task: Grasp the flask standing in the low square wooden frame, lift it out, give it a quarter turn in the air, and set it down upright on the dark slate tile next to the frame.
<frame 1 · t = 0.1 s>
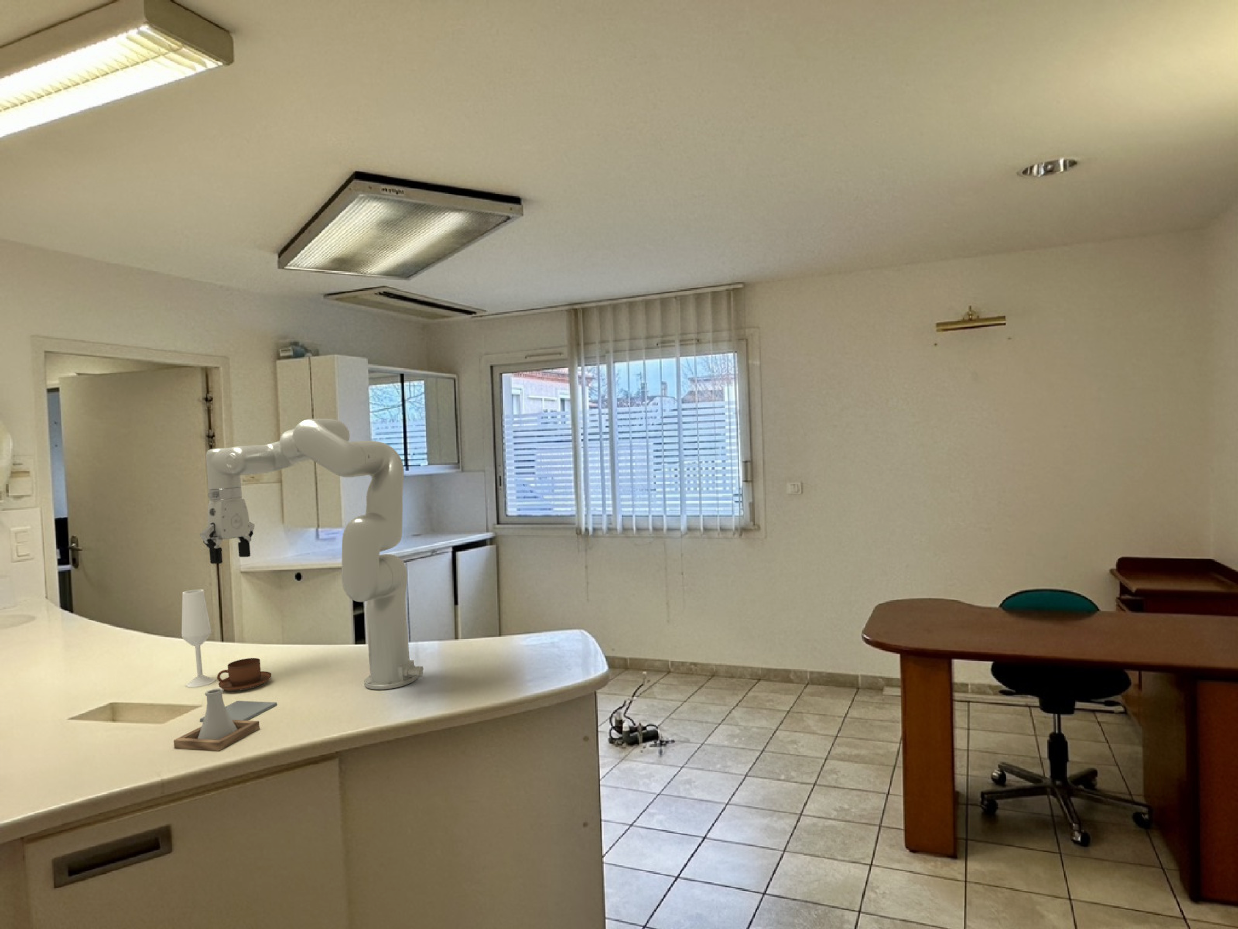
hand: (231, 560, 192), 31 cm above the countertop, tool pointing down, fingers open, 9 cm apart
flask: (218, 739, 152), on the countertop
cup and saucer: (245, 687, 186), on the countertop
slate tile: (239, 713, 166), on the countertop
square wooden frame: (218, 738, 152), on the countertop
champagne flute: (200, 683, 191), on the countertop
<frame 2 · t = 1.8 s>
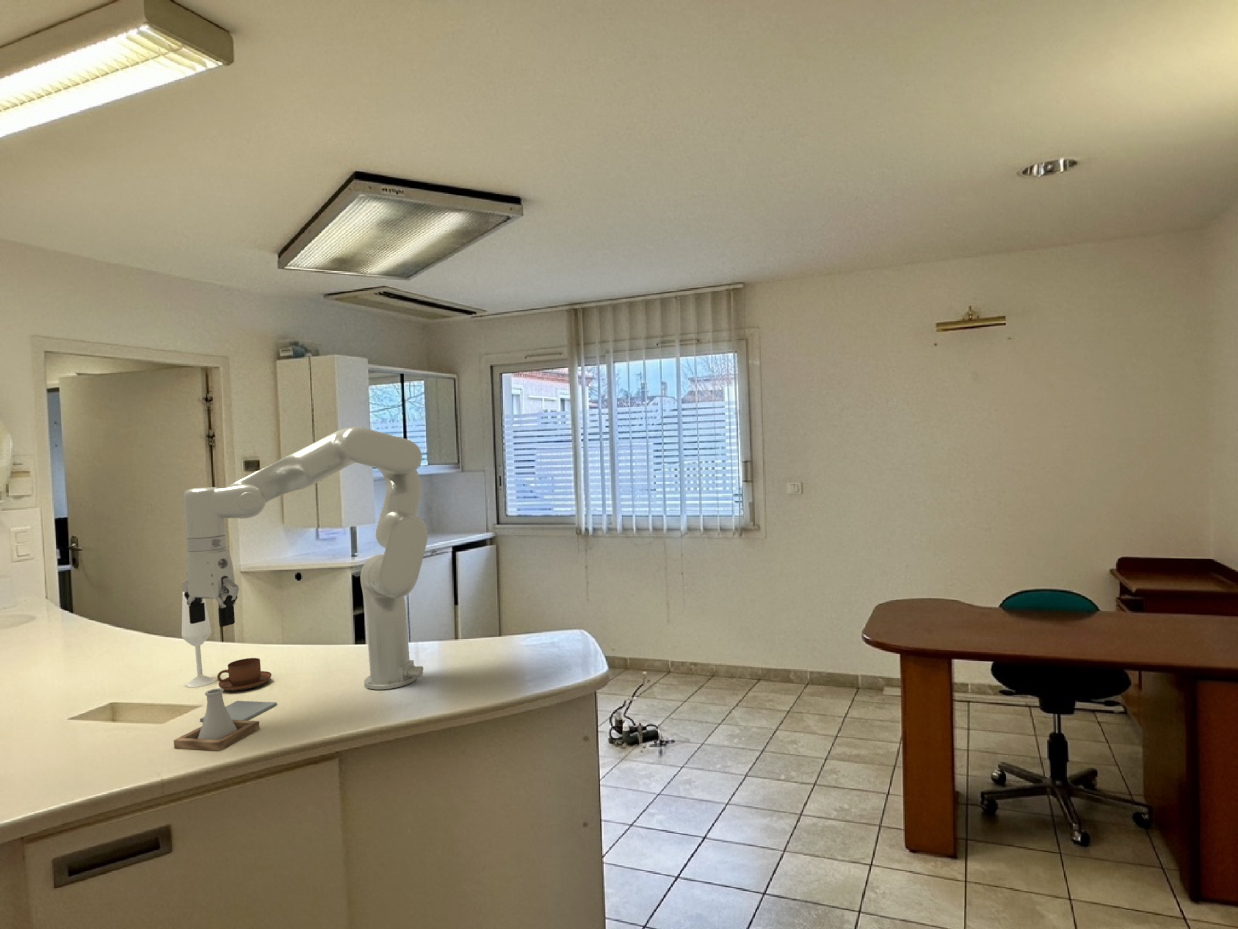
hand: (212, 623, 158), 22 cm above the countertop, tool pointing down, fingers open, 9 cm apart
nothing on the countertop moved.
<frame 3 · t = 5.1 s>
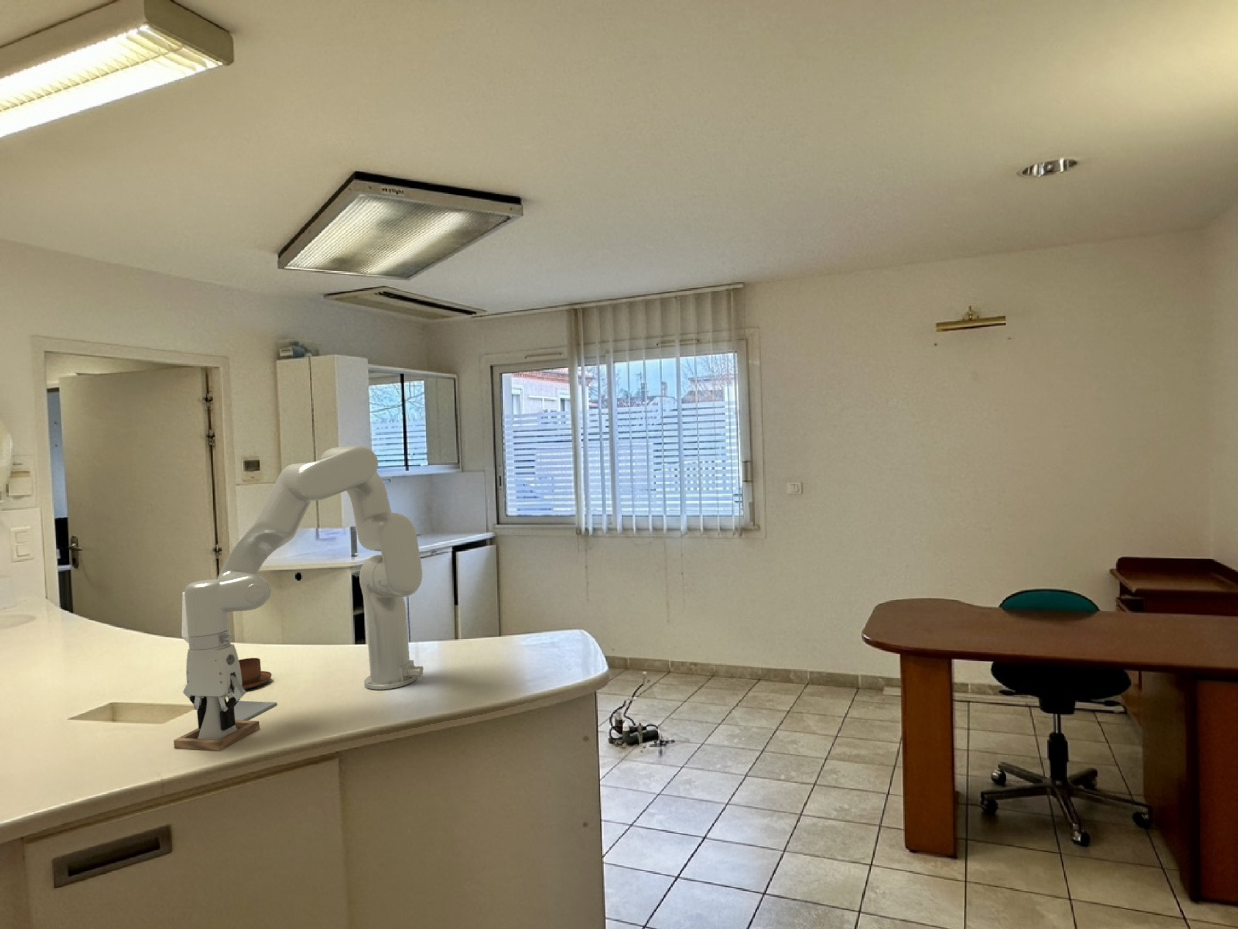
hand: (217, 726, 152), 2 cm above the countertop, tool pointing down, fingers closed on flask, 4 cm apart
flask: (218, 739, 152), on the countertop, touching gripper
everything else where it was.
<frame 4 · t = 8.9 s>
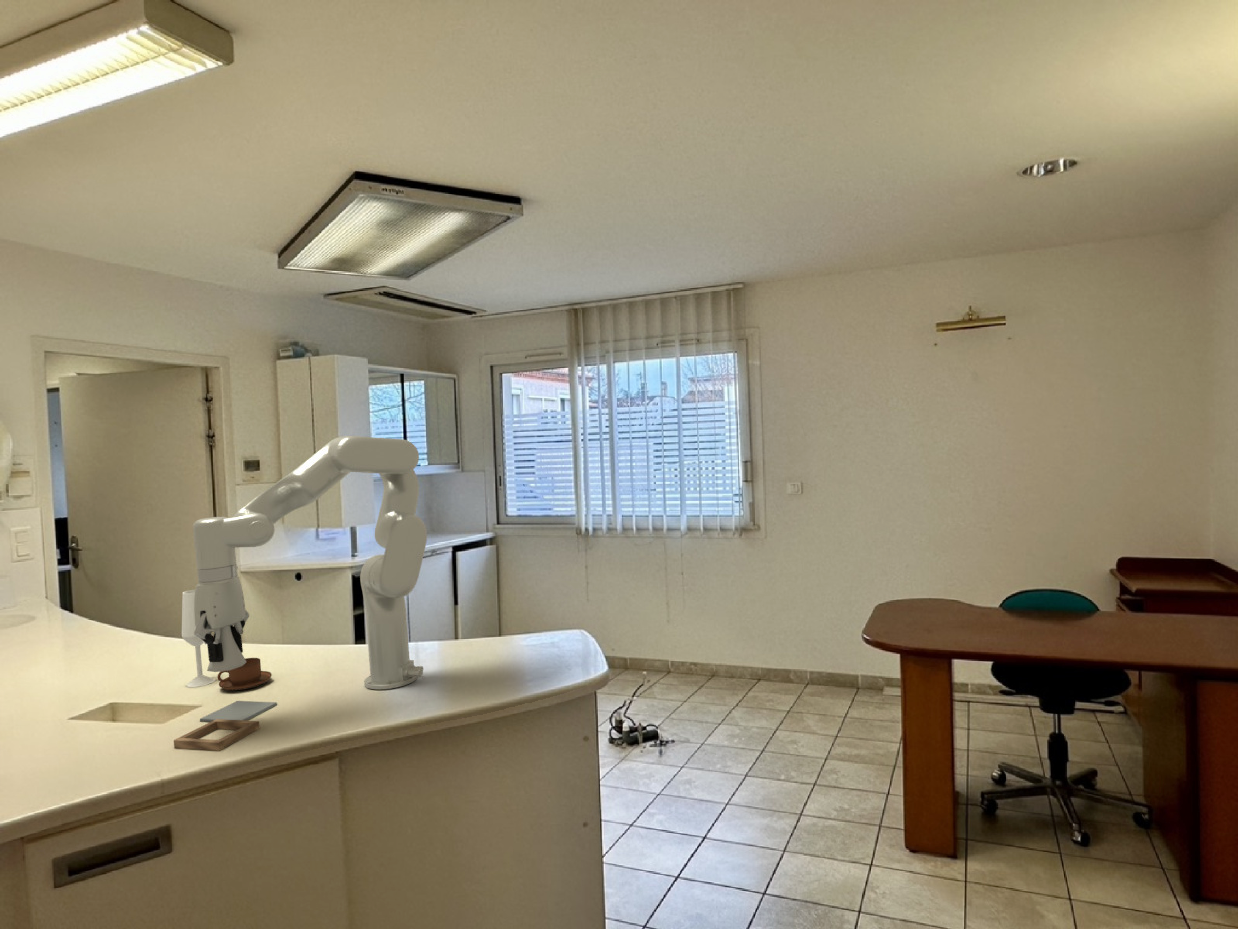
hand: (226, 656, 159), 15 cm above the countertop, tool pointing down, fingers closed on flask, 4 cm apart
flask: (227, 668, 159), point 12 cm above the countertop, touching gripper
everything else where it was.
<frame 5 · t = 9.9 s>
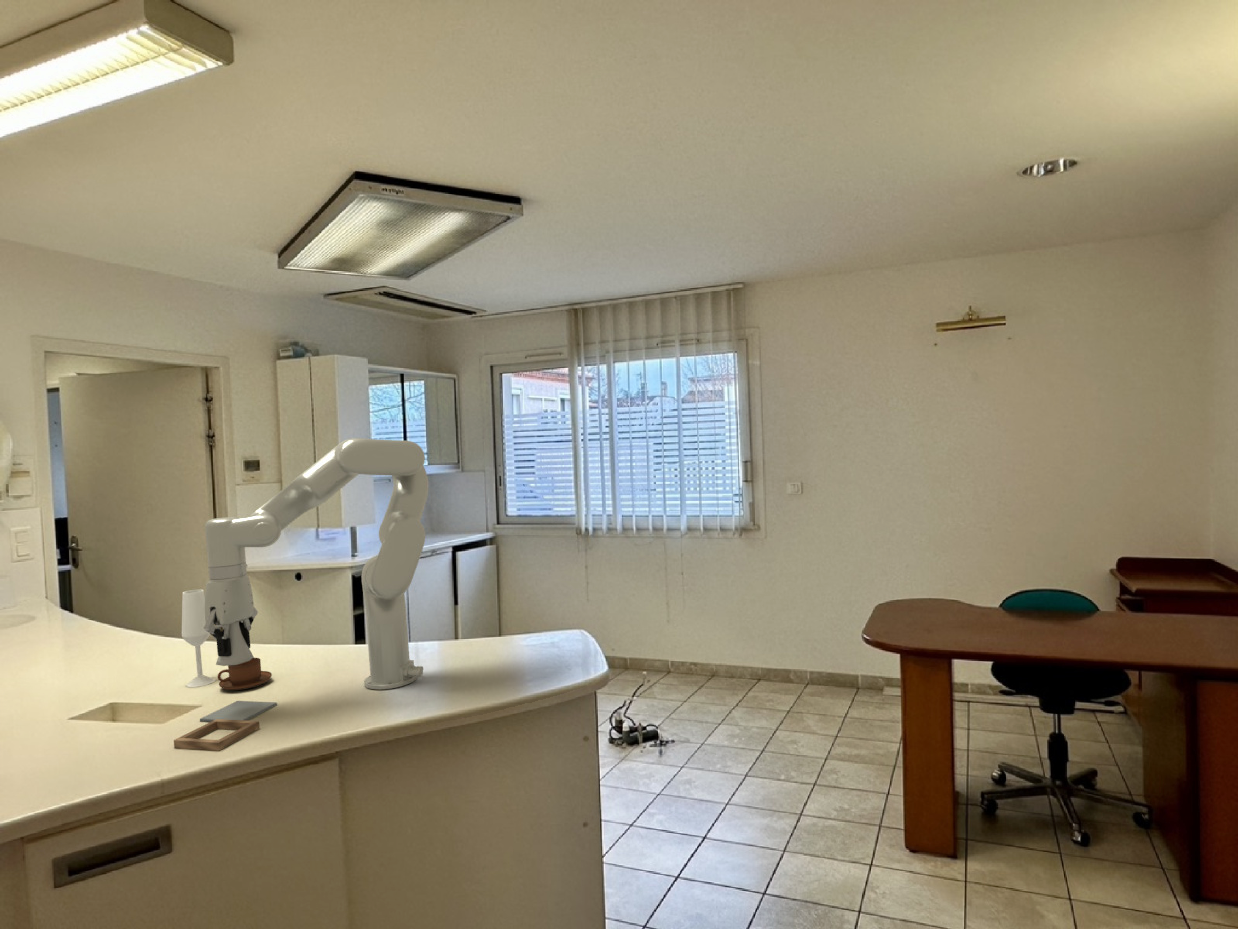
hand: (234, 651, 166), 14 cm above the countertop, tool pointing down, fingers closed on flask, 4 cm apart
flask: (235, 663, 166), point 11 cm above the countertop, touching gripper
everything else where it was.
when the fingers open (4 cm above the countertop, at t = 12.8 s): flask drops 1 cm, resting on slate tile.
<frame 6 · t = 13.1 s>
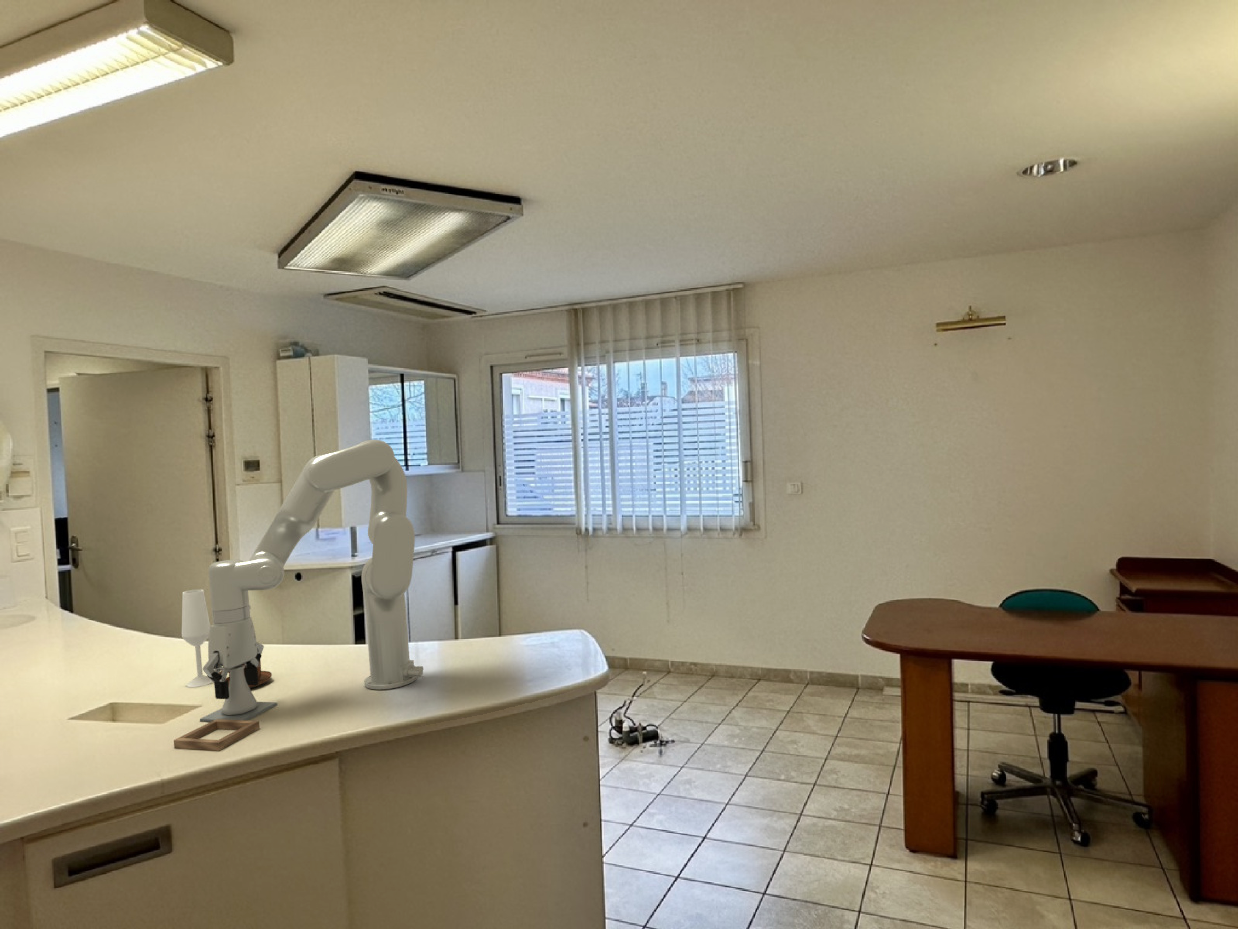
hand: (237, 691, 166), 5 cm above the countertop, tool pointing down, fingers open, 8 cm apart
flask: (240, 711, 166), resting on slate tile
everything else where it was.
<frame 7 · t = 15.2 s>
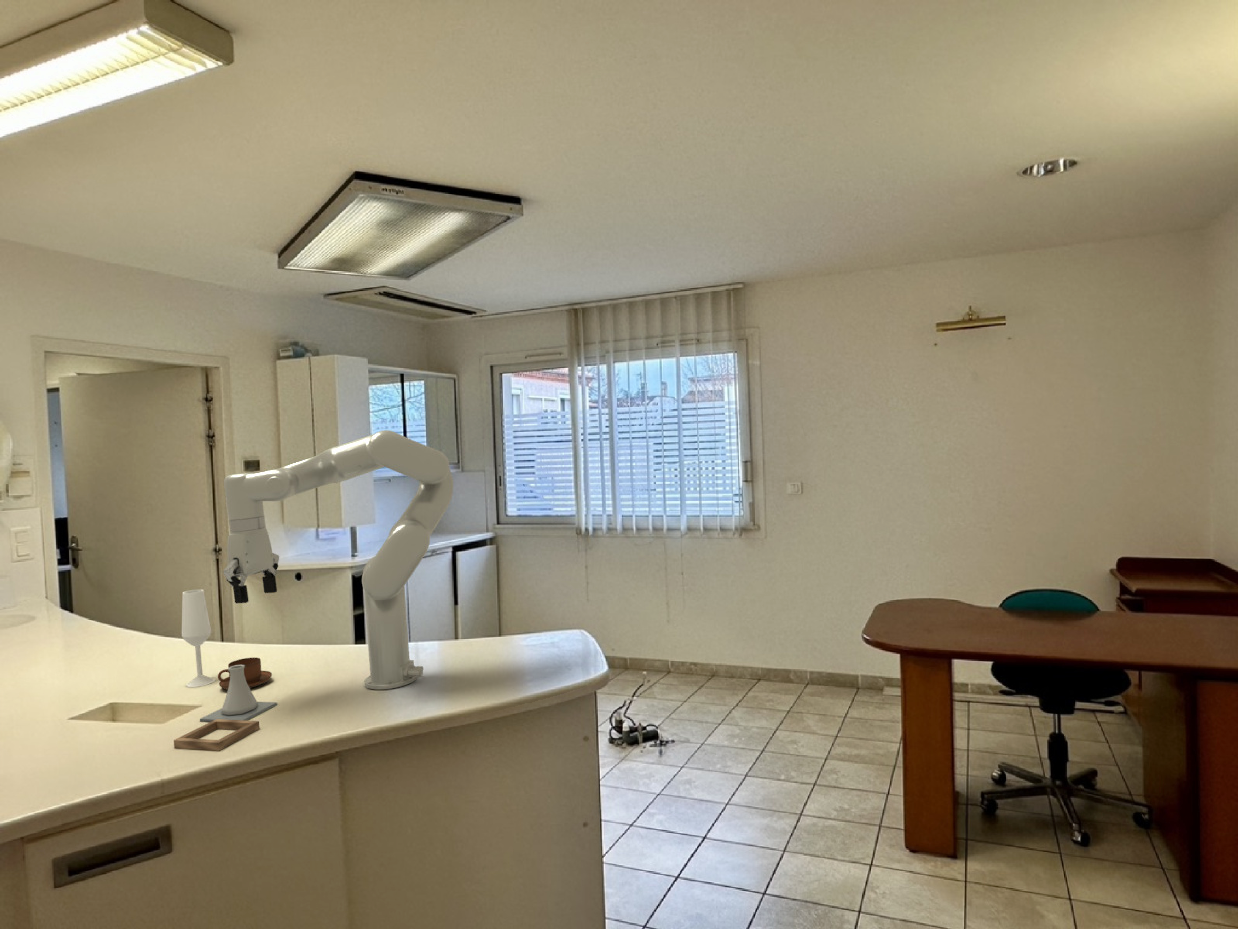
hand: (256, 597, 172), 25 cm above the countertop, tool pointing down, fingers open, 9 cm apart
nothing on the countertop moved.
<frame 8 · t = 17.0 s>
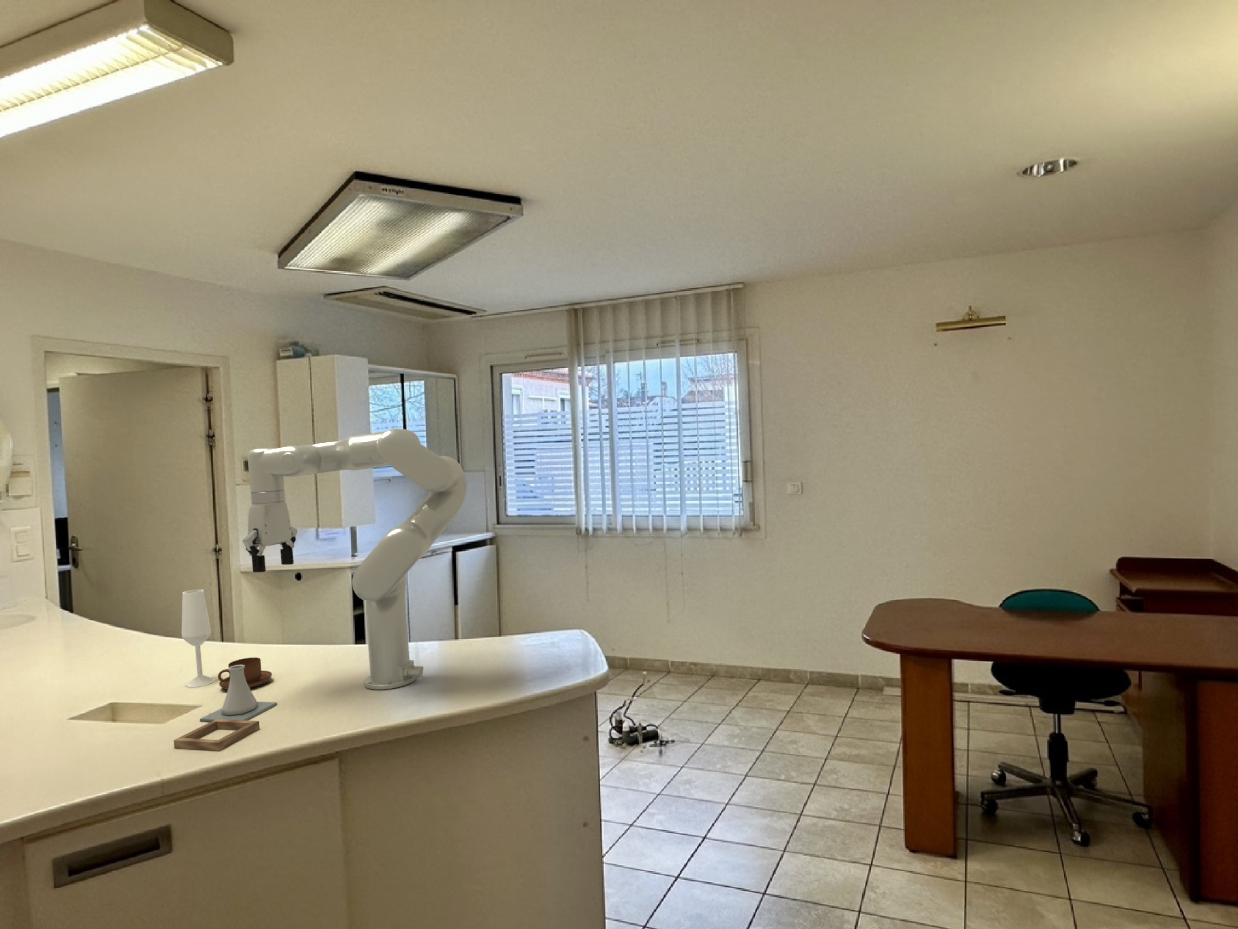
hand: (273, 568, 180), 30 cm above the countertop, tool pointing down, fingers open, 9 cm apart
nothing on the countertop moved.
at the end: flask inside the target area on the slate tile (0.1 cm from its centre), point 0.4 cm above the slate tile's base; flask tilted 0°; the gripper is holding nothing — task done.
